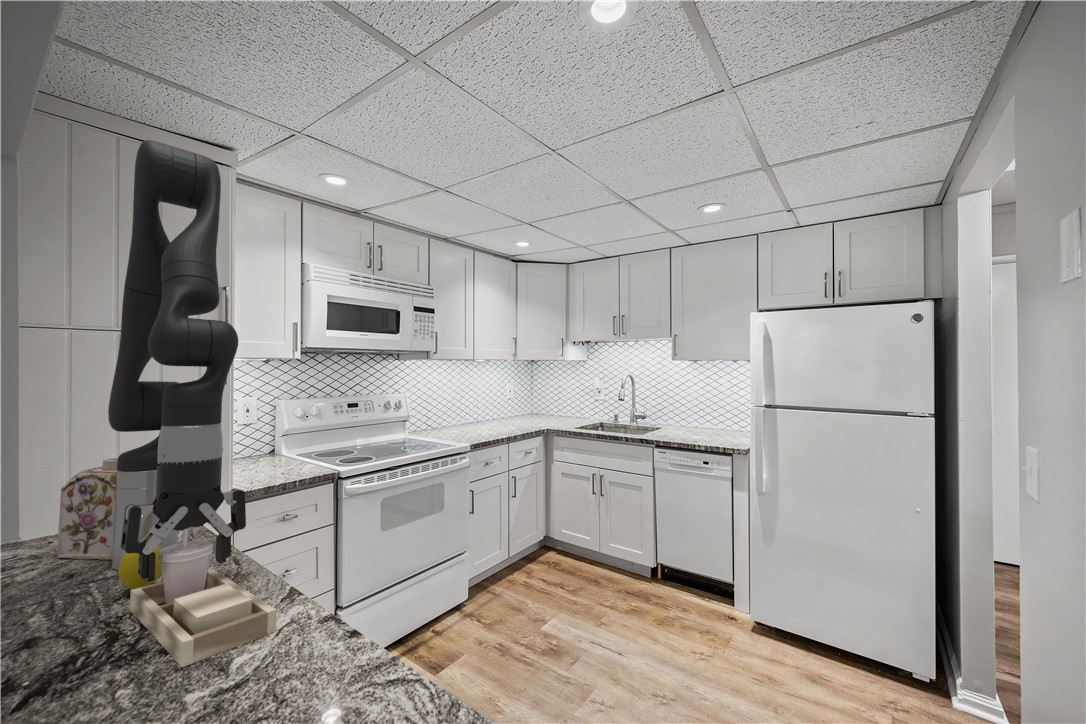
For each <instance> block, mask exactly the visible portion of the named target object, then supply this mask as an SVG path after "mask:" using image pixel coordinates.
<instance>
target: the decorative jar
mask: <svg viewBox="0 0 1086 724" xmlns="http://www.w3.org/2000/svg"><path fill="white" fill-rule="evenodd" d="M118 457H119V456H117V457H116V456H114V457H108V458H105V459H103V460H102V466H98V467H92V468H87V469H83V470H81V471H80V472H77V474H75V475H74V476H72V477H71V478H70V480H68V481H67V482H66V483H65V484H64V485H63V486H62V487H61V490H60V500H59V501H60V503H59V515H58V516H59V518H58V533H57V536H58V537H57V559H58V558H71V559H70V560H90V559H99V561H101V560H102V561H113V542H114V521H115V500H116V477H117V460H118Z"/></svg>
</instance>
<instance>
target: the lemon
mask: <svg viewBox="0 0 1086 724" xmlns="http://www.w3.org/2000/svg"><path fill="white" fill-rule="evenodd" d="M140 542H141V541H140ZM160 550H161V548H160V547H159V546H157V547H156V548H155V549H154V551H153V552H154V553H156V557H155V579H154V581H151V582H146V581H145V580H144V579H142V578H141V577H140V576H139V574H138V562H139V554H138V553H130V554H129V553H126V552H125V553H124V555H123V557H122V559H121V562H120V566H119V570H118V577H119V581H120V582H121V583H122V585H123V586H124V587H126V588H128V589H130V590H132V589H136V588H140V587H144V586H148V585H152V584H155V582H156V581H157V580H158V579H159V578H160V577H161V575H162V565H161V561H159V560H158V557H159V551H160Z"/></svg>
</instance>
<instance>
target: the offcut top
mask: <svg viewBox="0 0 1086 724" xmlns="http://www.w3.org/2000/svg"><path fill="white" fill-rule="evenodd" d="M251 609H252V599H250V598H249V597H247V596H245V595H244V594H242V593H241V592H239V591H237V590H236V589H234V588H233V587H231V586H229V585H228V584H223V585H220V586H217V587H213V588H210V589H206V590H203V591H200V592H196V593H193V594H190V595H186V596H183V597H180V598H176V599H174V612H173V615H174V616H175V617H176V618H178V619H179V620H180V621H181V622H182V623H183V624H185V625H186V626H187V627H188V628H189V629H191V630H192V631H193V632H194V633H195V634H198V633H201V632H204V631H207V630H210V629H212V628H215V627H218V626H221V625H224V624H227V623H230V622H233V621H235V620H238V619H241V618H244V617H247V616H250V615H251Z"/></svg>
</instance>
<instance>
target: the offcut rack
mask: <svg viewBox="0 0 1086 724" xmlns="http://www.w3.org/2000/svg"><path fill="white" fill-rule="evenodd" d="M223 584H228V585H229V586H231V587H233V588H234V589H236V590H237V591H239V592H241V593H242V594H244V595H245V596H247V597H249V598H250V599H252V609H251V613H253V615H250V616H247V617H244V618H241V619H238V620H235V621H233V622H230V623H227V624H224V625H221V626H218V627H215V628H212V629H210V630H207V631H204V632H201V633H198V634H195V635H192V636H190V635H189V634H188V633H187V632H186V631H185V630H184V629H183V628H182V627H181V626H179V625H178V624H177V623H176V622H175V621H174V615H173V612H174V602H171V603H167V604H166V601H165V592H164V583H163V581H159V582H156V583H155V582H154V583H152V584H151V585H148V586H144V587H140V588H136V589H130V591H129V592H130V593H129V595H130V598H129V611H130V612H131V613H132V614H133V615H134V616H135V617H136V618H137V620H139V622H140V623H141V624H142V625H143V626H144V628H146V630H147V631H148V632H149V633H150V634H151V635H152V636H153V637H154V638H155V639H156V640H157V642H159V644H160V645H161V646H162V647H163V648H164V650H166V651H167V653H168V654H169V655H170V656H171V657H172V658H173V660H175V661H176V662H177V664H178V665H179V666H180V667H181V668H183V667H186V666H189V665H192V664H195V663H197V662H199V661H202V660H205V659H207V658H210V657H213V656H214V655H218V654H220V653H223V652H225V651H228V650H230V649H231V650H232V649H233V648H236V647H238V646H241V645H243V644H246V643H249V642H251V641H254V640H257V639H259V638H261V637H264V636H267V635H269V634H272V633H274V632H276V630H277V629H276V627H277V622H276V621H277V609H276V608H274V607H273V606H272V605H269V604H268V603H266V602H265V601H264V600H262V599H260V598H259V597H258V596H256V595H255V594H252V593H251V592H249V591H248V590H247V589H245V588H243V587H242V586H241V585H239V584H237V583H236V582H234V581H233V580H232V579H229V578H228V577H226V576H225V575H223V574H222V573H221V572H219V571H218V570H216V569H214V568H210V569H209V568H208V571H207V576H206V582H205V588H204V590H206V589H210V588H213V587H217V586H220V585H223ZM161 604H162V605H161Z"/></svg>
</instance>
